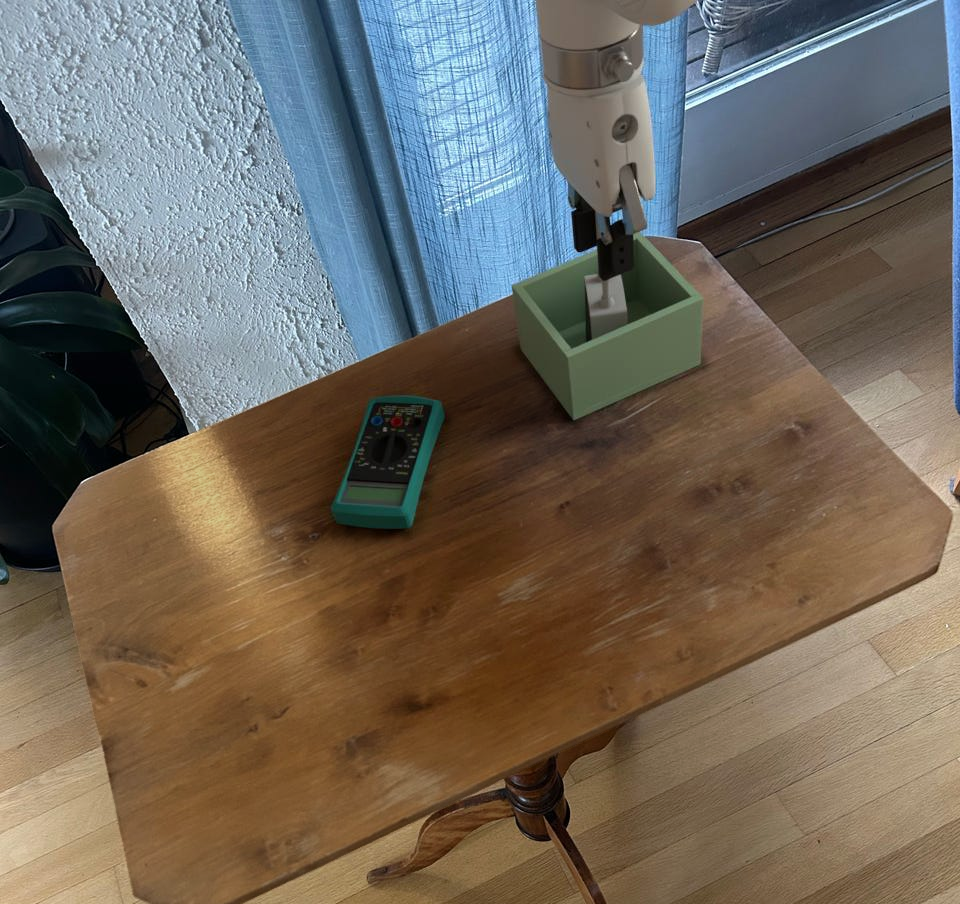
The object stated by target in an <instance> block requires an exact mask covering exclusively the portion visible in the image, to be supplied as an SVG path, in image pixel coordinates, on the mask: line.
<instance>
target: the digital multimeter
mask: <svg viewBox="0 0 960 904" xmlns="http://www.w3.org/2000/svg"><path fill="white" fill-rule="evenodd" d="M444 420H445V412H444V408H443V404H442V402H441V401H440V400H437V399H432V398H428V397H424V396H417V395H410V394H409V395H408V394H407V395H405V394H399V395H398V394H397V395H386V396H379V397H378V396H377V397H372V398H370V399H369V400H368V401H367V406H366V409H365V413H364V416H363V420H362V423H361V426H360V429H359V432H358V436H357V439H356V442H355V446H354V449H353V451H352V454H351V456H350V459H349V462H348V465H347V467H346V470H345V473H344V475H343V477H342V480H341V482H340V485H339V487H338V488H337V491H336V493H335V496H334V499H333V501H332V504H331V506H330V510H331V513H332V516H333V518H334V520H335V522H336V524H339V525H345V526H351V527H360V528H366V529H369V528H370V529H381V530H382V529H387V530H388V529H389V530H390V529H392V530H393V529H395V530H397V529H409V528H411V527H412V526H413V524H414V520H415V516H416V511H417V507H418V503H419V499H420V494H421V490H422V486H423V484H424V479H425V476H426V472H427V469H428V466H429V462H430V459H431V456H432V453H433V450H434V448H435V444H436V442H437V439H438V436H439V434H440V430H441V429H442V425H443V423H444Z"/></svg>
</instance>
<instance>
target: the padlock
mask: <svg viewBox="0 0 960 904" xmlns="http://www.w3.org/2000/svg"><path fill="white" fill-rule="evenodd" d="M595 219H596V235H597V239H599V238H601V235H600V228H599V221H598V214H597V212H596V211H595ZM584 280H585V313H586V327H585V332H586V342H589V341H591V340H593V339H596V338H598V337H600V336H602V335H605V334H607V333H609V332H612V331H614V330H616V329H619V328H621V327H623V326H626V325H628V319H627V307H626V301H625V295H624V289H623V283H622V279H621V274H620V275H618V276H616V277H613V278H611V279H609V280H606V281H602V279H601V278H600V277H599V271H598V273H597V274H594V275H587V276H584Z"/></svg>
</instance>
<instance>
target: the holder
mask: <svg viewBox="0 0 960 904" xmlns="http://www.w3.org/2000/svg"><path fill="white" fill-rule="evenodd" d="M633 240H634V267H633V269H631V270H630V271H627V272H625V273H623V274H621V279H622V283H623V289H624V295H625V301H626V307H627V319H628V325H626V326H623V327H621V328H619V329H616V330H614V331H612V332H609V333H607V334H605V335H602V336H600V337H598V338H596V339H593V340H591V341H589V342H586V332H585V327H586V313H585V280H584V276H587V275H594V274H597V273H598V255H597V248H596V249H594V250H592V251H589V252H587V253H585V254H582V255H580V256H577V257H575V258H572V259H570V260H568V261H566V262H563V263H561V264H558V265H556V266H553V267H552V268H549V269H546V270H545V271H541V272H540V273H537V274H535V275H532V276H529V277H527V278H526V279H523V280H521V281H518V282H515V283H514V284H512V285H511V292H512V298H513V305H514V312H515V319H516V326H517V332H518V340H519V347H520V350H521V352H522V353H523V354H524V356H525V357H526V358H527V361H529V363H530V364H531V365H532V366H533V368H534V369H535V371H536V372H537V373H538V374H539V376H540V377H541V378H542V380H543V381H544V383H545V384H546V385H547V387H548V388H549V389H550V391H551V392H552V394H553V395H554V397H556V399H557V400H558V401H559V403H560V404H561V406H562V407H563V408H564V409H565V411H566V412H567V414H568V415H569V416H570V418H571V419H572V420H573V421H575V420H578V419H580V418H583V417H586V416H587V415H590V414H592V413H594V412H597V411H599V410H601V409H603V408H605V407H608V406H610V405H612V404H614V403H617V402H619V401H621V400H623V399H626V398H628V397H630V396H633V395H635V394H638V393H639V392H641V391H644V390H646V389H648V388H651V387H653V386H655V385H657V384H660V383H662V382H664V381H666V380H669V379H671V378H673V377H676V376H678V375H681V374H682V373H684V372H686V371H689V370H691V369H694V368H696V367H698V366H700V365H701V364H702V363H701V360H702V359H701V357H702V339H703V338H702V337H703V336H702V335H703V315H704V314H703V311H704V297H703V296H702V295H701V294H700V293H699V292H698V291H697V290H696V289H695V288H694V286H693V285H692V284H690V282H688V281H687V280H686V278H685V277H684V276H683V275H682V274H681V273H680V272H679V271H678V270H677V268H675V267H674V266H673V265H672V264H671V262H669V260H667V258H666V257H665V256H664V255H663V254H662V253H661V252H660V251H659V250H658V249H657V248H656V247H655V246H654V244H652V243H651V242H650V240H648V238H646V236H645V235H644V234H643V233H642V231H640V232H637V233H635V234H633Z"/></svg>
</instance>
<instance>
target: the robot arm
mask: <svg viewBox="0 0 960 904" xmlns="http://www.w3.org/2000/svg"><path fill="white" fill-rule="evenodd" d="M698 1H699V0H535V9H536V19H537V27H538V28H537V30H538V38H539V39H538V40H539V52H540V60H541V61H540V62H541V71H542V79H543V82H544V83H545V85H546V97H547V99H546V101H547V119H548V132H549V133H548V134H549V142H550V150H551V154H552V159H553V163H554V165H555V167H556V169H557V170H558V171H559V173H560V174H561V176H562V177H563V178H564V179H565V180H566V182H567V202H568V205H569V207H570V209H572V210H571V211H570V215H571V226H572V240H573V248H574V250H575V251H576V252H577V253H584V252H586V251H588V250H590V249H593V248H595V247H596V249H597V255H598V271H599V277H600V278H601V279H602V281H606V280H609V279H611V278H613V277H616V276H618V275H620V274H623V273H625V272H627V271H630V270H631V269H633V267H634V240H633V234H635V233H637V232H643V231H644V230H647V229H648V221H647V218H646V214H645V210H644V206H643V203H642V200H644V202H648V201H652V200H653V199H654V198H655V195H656V161H655V148H654V147H655V146H654V133H653V124H652V114H651V108H650V102H649V96H648V90H647V86H646V85H647V84H646V80H645V77H644V76H643V74H642V71H643V68H644V65H645V64H644V63H645V62H644V60H645V59H644V27H647V26H648V27H654V26H660V25H664V24H666V23H669V22H670V21H672V20H674V19H676V18H677V17H679V16H680V15H682V14H683V13H685V11H686V10H688V9H689V8H691V6H693V5H695V4H696V3H697V2H698ZM641 198H642V200H641ZM595 211H596V212H597V214H598V221H599V228H600V235H601V238H599V239H597V235H596V219H595ZM619 211H621V213H622V218H620V219H619V220H618V219H617V220H616V221H614V222H613V223H611V217H612V215H613V214H614V213H617V212H619Z"/></svg>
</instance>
